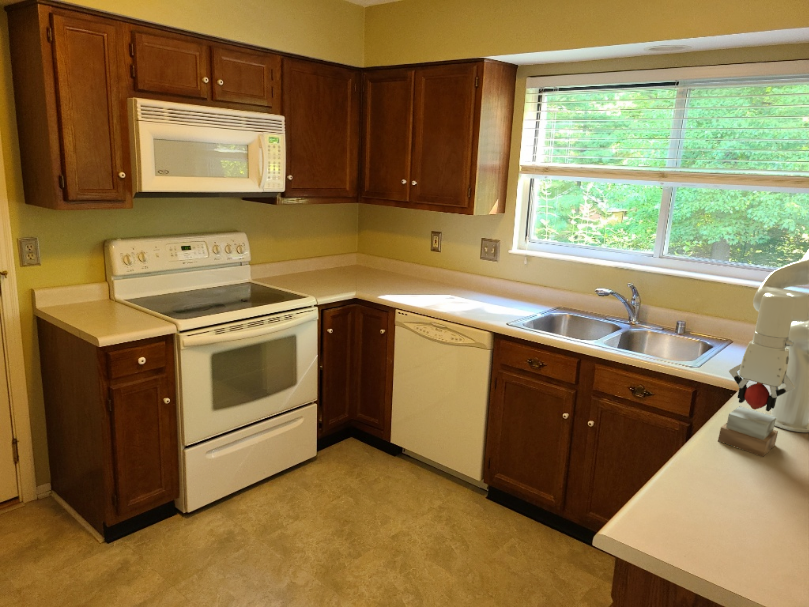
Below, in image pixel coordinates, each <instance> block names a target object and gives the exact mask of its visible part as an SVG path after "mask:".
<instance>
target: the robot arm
mask: <svg viewBox="0 0 809 607" xmlns="http://www.w3.org/2000/svg"><path fill="white" fill-rule="evenodd" d="M805 285H809V248H808V249H807V251H806V252H805V253H804V254H803V255H802V257H801V259H799V260H798V261H794V262H791V263H789V264H787V265H783V266H782V267H780V268H777V269H776V270H774V271H772V272H770V273H769V274H768V275H767V276H766V277H765V279H764V280H763V281H762V283H761V284H760V285H759V286H758V288H757V290H756V291H755V294H754V296H753V299H752V304H753V308H754V309H755V311H756V312H758V314H757V318H756V323H755V328H754V332H753V336H752V340H750V341H749V342H748V344H747V346H746V349H745V351H744V354H743V357H742V360H741V362H740V363H739V364H738V365H736V366H734V367H732V368H731V369H729V370H728V372H729V374H730V375H731V377H732V378H733V379H734V382H736V384H737V387H738V393H737V397H736V398H737V399H738V403H739V404H742V403H744V402H746V400H745V397H744V393H745V391H746V389H747V388H748V386H747V385H748V383H749V382H750V381H752V382H755V383H757V382H758V383H761V384H763V385H764V386H769V390H770V391H769V392H770V396H769V397H768V402H767V405H766V407H765V413H764V414H768V415H771V416H774V417H776V420H775V424H774V427H778V428H780V429H783V430H786V431H791V432H796V433H809V294H808V293H804V292H798V291H794V290H791V289H787V288H790V287H796V286H805Z"/></svg>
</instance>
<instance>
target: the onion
mask: <svg viewBox="0 0 809 607" xmlns="http://www.w3.org/2000/svg"><path fill="white" fill-rule="evenodd" d="M770 395H771V392H770V391H769V389H768V388H767V387H766V385H765V384H761V383H758V382H755V383H753V384H751V385H749V386H747V389H746V391H745V393H744V397H745V403H746V404H748V406H750V407H751V408H750V409H751V410H755V411H757V410H759V409H761V408H764V407H765V406H767V402H768V397H769V396H770Z"/></svg>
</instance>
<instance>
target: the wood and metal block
mask: <svg viewBox="0 0 809 607" xmlns="http://www.w3.org/2000/svg"><path fill="white" fill-rule="evenodd" d="M775 420H776V417H774V416H771V415H768V414H765V413H763V412H761V411H757V410H754V409H752V408H748V407H745V406H741V405H739V406H738V407H736V408H735V409H733V410H732V411H731V412H729V413H728V417H727V422H726V423H724V424H723V425H721V427H720V430H719V433H718V438H717V439H718V440H717V442H719V441H721V442H720V443H722V442H724V443H723V444H725V443H726V444H725V445H728V444H729V445H728V446H730V445H732V446H731V447H733V446H735V447H734V448H736V447H738V448H737V449H739V448H740V450H742V449H743V450H742V451H745V452H748V453H751V454H754V455H757V456H759V457H761V458H763V457H764V456H766V454H768V453H769V451H771V450H772V448H774V447H775V445H776V441H777V438H778V434H779V433H778V432H779V431H778V430H775V428H774V427H775V425H774V424H775Z"/></svg>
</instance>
